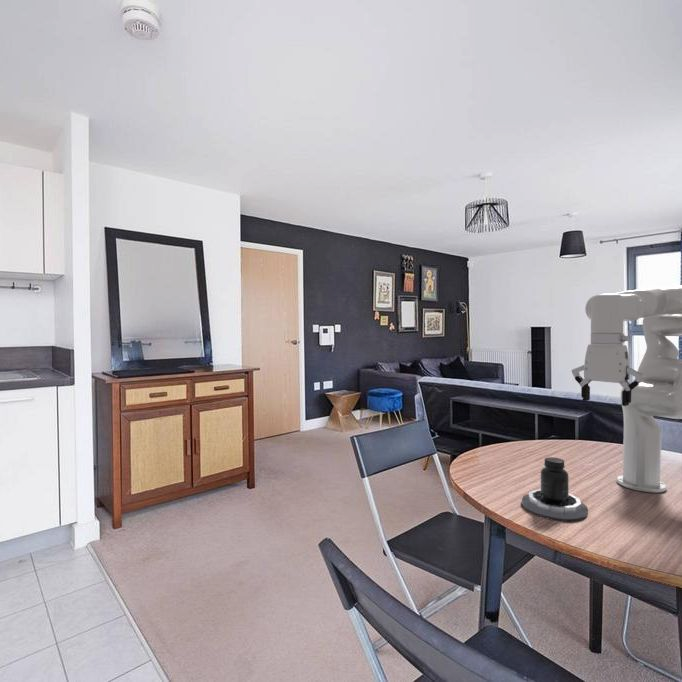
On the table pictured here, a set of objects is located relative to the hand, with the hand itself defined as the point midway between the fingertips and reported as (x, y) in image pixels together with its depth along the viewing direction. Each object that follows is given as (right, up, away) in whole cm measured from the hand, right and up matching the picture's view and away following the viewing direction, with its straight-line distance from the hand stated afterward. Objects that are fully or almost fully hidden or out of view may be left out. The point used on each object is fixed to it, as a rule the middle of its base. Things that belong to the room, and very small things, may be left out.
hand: (605, 402), depth 119 cm
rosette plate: (-14, -28, -1) cm, 32 cm away
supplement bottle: (-14, -27, 0) cm, 31 cm away
